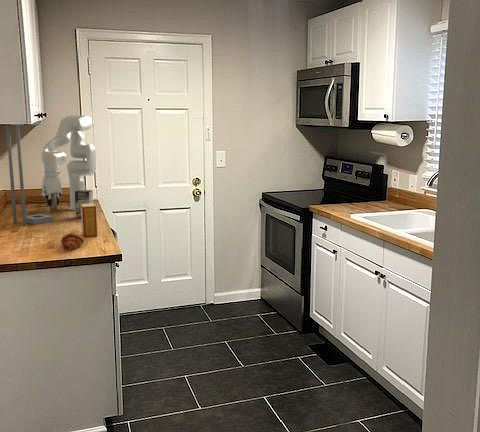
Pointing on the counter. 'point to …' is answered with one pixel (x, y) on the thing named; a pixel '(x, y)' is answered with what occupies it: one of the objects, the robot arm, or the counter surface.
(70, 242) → the croissant
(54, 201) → the peg
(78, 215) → the coffee box
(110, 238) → the counter surface
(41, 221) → the socket
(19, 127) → the grey two-post stand
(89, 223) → the baking soda box
